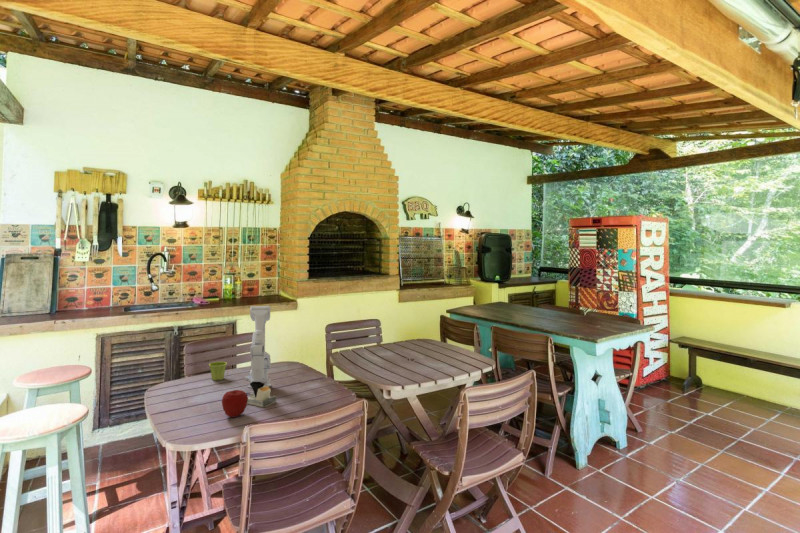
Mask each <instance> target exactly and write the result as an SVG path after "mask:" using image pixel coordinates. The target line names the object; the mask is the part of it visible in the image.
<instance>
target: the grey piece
mask: <svg viewBox="0 0 800 533" xmlns="http://www.w3.org/2000/svg"><path fill="white" fill-rule="evenodd" d="M276 402H277V396H276V395H273V396H269V399H266V400H264V401H260V400H256V397H255V394H254V392H250V393H249V396H248V401H247V405H250V406H255V407H259V408H263V409H264V408H266V407H269V406H271V405H273V404H275V403H276Z"/></svg>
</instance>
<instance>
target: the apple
mask: <svg viewBox="0 0 800 533" xmlns="http://www.w3.org/2000/svg"><path fill="white" fill-rule="evenodd" d="M248 398H249V396H248V394H247V393H246V392H245V391H243V390H241V389H234V390H230V391H226V392H225V393H224V394H223V396H222V399H221V405H222V409H223V411H224V414H225V415H226V416H228V417H230V418H237V417H239V416H241V414H244V413H245V410H246V407H247V405H248V404H247V401H248Z"/></svg>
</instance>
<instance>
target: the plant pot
mask: <svg viewBox="0 0 800 533" xmlns="http://www.w3.org/2000/svg"><path fill="white" fill-rule="evenodd" d="M227 364H228V362H227V361H226V362H225V361H215V362H214V361H213V362H210V363H209V364H208V366H209V369H210V374H211V380H212V381H221V380H223V379H224V378H225V371H226V367H227Z"/></svg>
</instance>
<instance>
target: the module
mask: <svg viewBox="0 0 800 533" xmlns="http://www.w3.org/2000/svg"><path fill="white" fill-rule="evenodd" d="M271 391H272V389H271V388H270V387H267V386H264V387H261V388H259V389H258V392H257V396H256V400H260V401H264V400H266V399H269V396H270V394H271ZM270 397H271V396H270Z"/></svg>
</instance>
